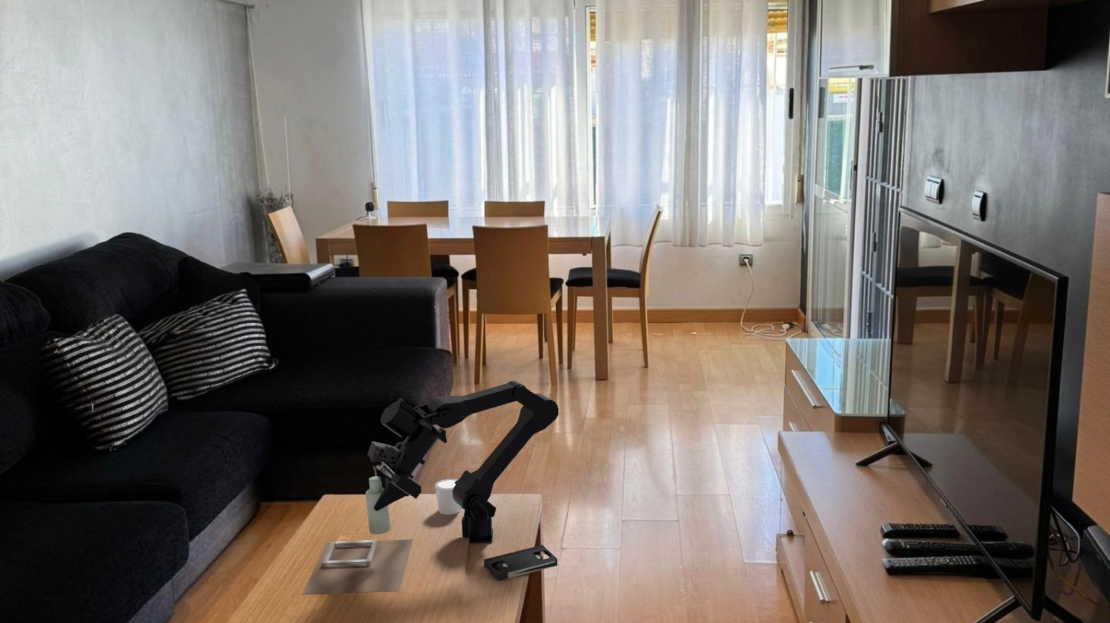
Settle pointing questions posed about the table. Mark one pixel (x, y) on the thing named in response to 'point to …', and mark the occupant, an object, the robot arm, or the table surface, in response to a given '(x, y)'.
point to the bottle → (376, 519)
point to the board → (359, 567)
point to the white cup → (446, 497)
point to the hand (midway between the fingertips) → (371, 505)
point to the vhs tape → (519, 562)
